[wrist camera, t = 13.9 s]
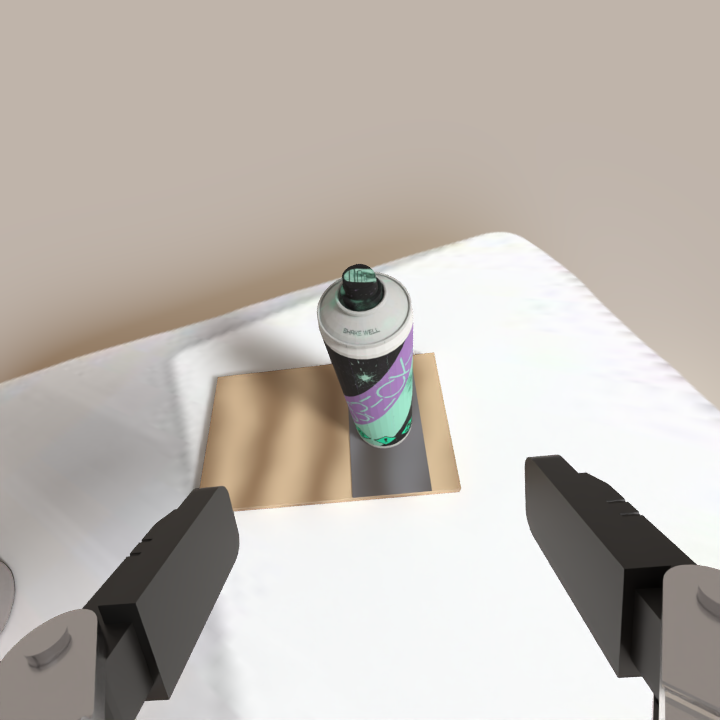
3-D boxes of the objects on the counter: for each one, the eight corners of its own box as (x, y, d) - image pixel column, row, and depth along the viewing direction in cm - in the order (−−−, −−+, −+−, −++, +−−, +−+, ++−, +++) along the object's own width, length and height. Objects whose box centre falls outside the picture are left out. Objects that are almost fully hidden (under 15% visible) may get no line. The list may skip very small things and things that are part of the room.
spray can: (345, 415, 36) (285, 271, 18) (389, 385, 37) (371, 223, 20) (377, 460, 33) (341, 339, 16) (423, 426, 34) (437, 279, 17)
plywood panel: (203, 514, 34) (195, 511, 32) (223, 383, 41) (217, 376, 40) (459, 491, 32) (461, 488, 31) (433, 359, 39) (433, 352, 38)
